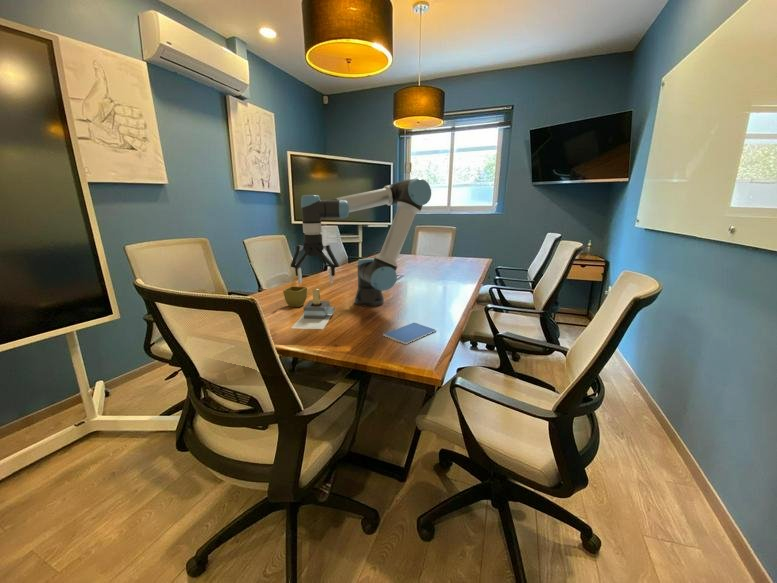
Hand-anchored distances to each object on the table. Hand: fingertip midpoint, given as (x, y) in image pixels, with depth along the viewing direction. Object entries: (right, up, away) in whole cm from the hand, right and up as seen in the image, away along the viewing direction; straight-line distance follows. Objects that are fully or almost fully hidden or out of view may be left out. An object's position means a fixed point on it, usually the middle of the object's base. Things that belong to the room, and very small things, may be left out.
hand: (315, 283), depth 140 cm
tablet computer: (+40, -21, -12) cm, 47 cm away
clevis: (+1, -14, +4) cm, 15 cm away
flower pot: (-15, -11, +22) cm, 29 cm away
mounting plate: (-1, -17, -1) cm, 17 cm away
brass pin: (0, -14, +4) cm, 15 cm away
